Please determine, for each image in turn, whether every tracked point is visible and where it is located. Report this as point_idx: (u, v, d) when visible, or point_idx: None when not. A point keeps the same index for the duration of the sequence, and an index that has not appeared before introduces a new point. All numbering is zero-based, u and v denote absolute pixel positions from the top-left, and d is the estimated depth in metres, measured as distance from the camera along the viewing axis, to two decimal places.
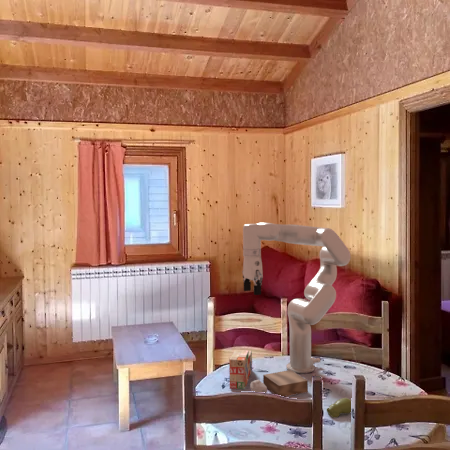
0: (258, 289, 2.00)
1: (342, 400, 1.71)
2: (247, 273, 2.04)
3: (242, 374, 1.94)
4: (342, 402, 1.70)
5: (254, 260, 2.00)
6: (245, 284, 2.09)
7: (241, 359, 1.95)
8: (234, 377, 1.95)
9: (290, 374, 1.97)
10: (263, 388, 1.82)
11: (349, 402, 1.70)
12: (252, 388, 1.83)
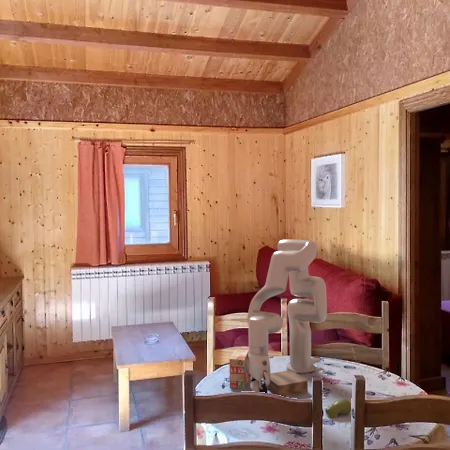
0: None
1: (340, 400, 1.70)
2: (253, 372, 1.83)
3: (242, 374, 1.95)
4: (340, 403, 1.69)
5: (261, 360, 1.79)
6: None
7: (241, 359, 1.95)
8: (234, 377, 1.95)
9: (290, 375, 1.97)
10: None
11: (347, 402, 1.69)
12: (252, 388, 1.83)
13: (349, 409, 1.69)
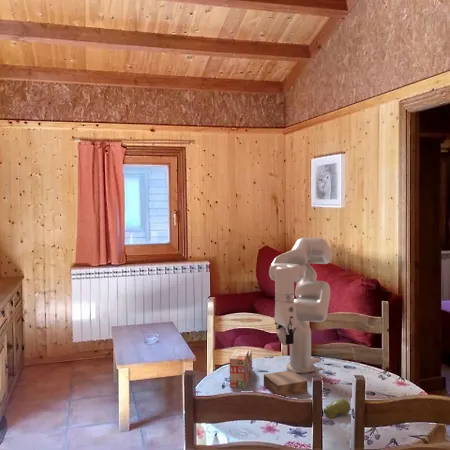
0: (290, 338, 1.89)
1: (339, 401, 1.70)
2: (279, 319, 1.92)
3: (242, 373, 1.95)
4: (339, 403, 1.69)
5: (288, 306, 1.88)
6: None
7: (241, 358, 1.96)
8: (235, 376, 1.96)
9: (290, 375, 1.96)
10: None
11: (346, 403, 1.69)
12: (279, 334, 1.92)
13: (347, 409, 1.69)
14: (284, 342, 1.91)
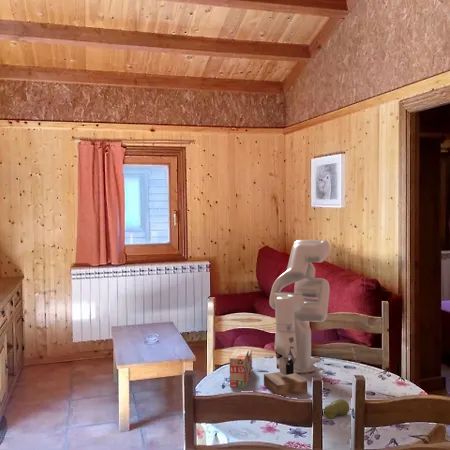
0: (291, 368, 1.89)
1: (338, 401, 1.70)
2: (280, 349, 1.92)
3: (242, 373, 1.95)
4: (338, 403, 1.69)
5: (288, 336, 1.88)
6: None
7: (241, 358, 1.96)
8: (235, 376, 1.96)
9: (290, 375, 1.96)
10: None
11: (345, 403, 1.69)
12: (279, 364, 1.92)
13: (346, 410, 1.68)
14: (284, 372, 1.91)
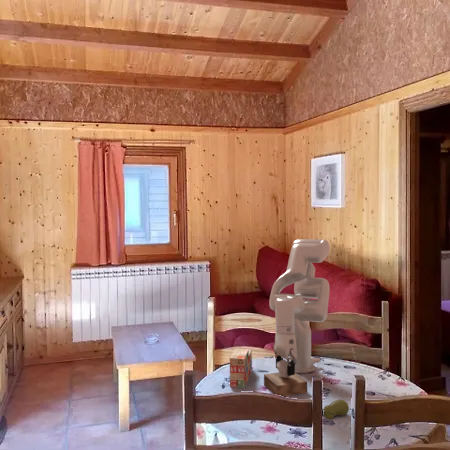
0: (292, 369, 1.89)
1: (337, 401, 1.69)
2: (280, 351, 1.92)
3: (242, 373, 1.96)
4: (337, 404, 1.68)
5: (288, 338, 1.88)
6: (277, 361, 1.97)
7: (241, 358, 1.96)
8: (235, 376, 1.96)
9: None
10: None
11: (344, 404, 1.69)
12: (279, 367, 1.93)
13: (346, 410, 1.68)
14: (284, 375, 1.92)
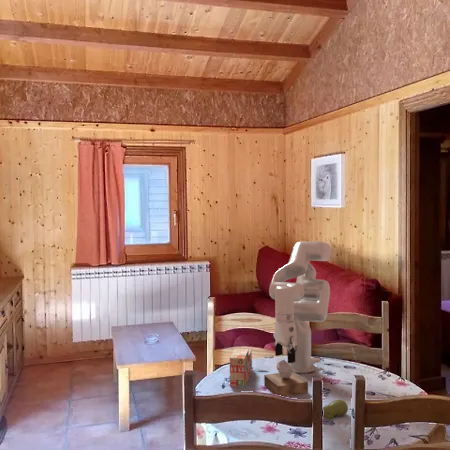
0: (292, 357, 1.88)
1: (336, 402, 1.69)
2: (280, 339, 1.92)
3: (242, 372, 1.96)
4: (336, 404, 1.68)
5: (288, 326, 1.88)
6: (277, 348, 1.97)
7: (241, 357, 1.97)
8: (235, 375, 1.97)
9: (291, 375, 1.96)
10: (289, 368, 1.91)
11: (343, 404, 1.68)
12: (278, 368, 1.92)
13: (345, 410, 1.68)
14: (284, 376, 1.91)
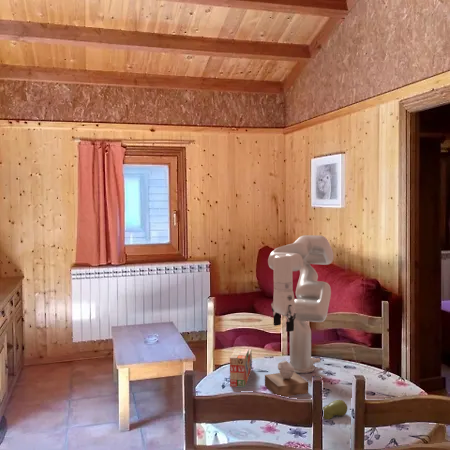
0: (291, 325, 1.88)
1: (336, 402, 1.69)
2: (278, 308, 1.92)
3: (242, 372, 1.96)
4: (335, 404, 1.68)
5: (286, 295, 1.88)
6: (275, 318, 1.97)
7: (241, 357, 1.97)
8: (235, 375, 1.97)
9: None
10: (290, 368, 1.90)
11: (343, 404, 1.68)
12: (280, 368, 1.92)
13: (344, 411, 1.68)
14: (285, 376, 1.91)
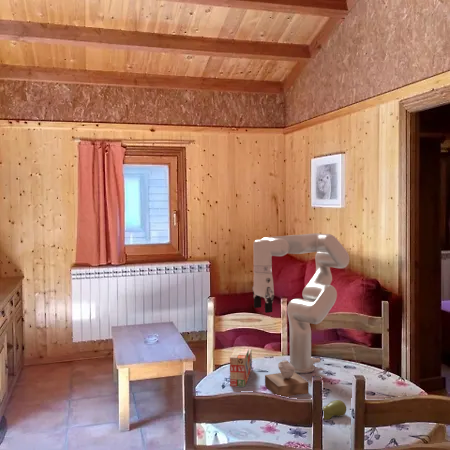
0: (269, 307, 1.96)
1: (335, 402, 1.69)
2: (257, 290, 2.00)
3: (242, 372, 1.96)
4: (334, 404, 1.68)
5: (265, 277, 1.96)
6: (255, 301, 2.05)
7: (241, 357, 1.97)
8: (235, 375, 1.97)
9: None
10: (291, 367, 1.91)
11: (342, 404, 1.68)
12: (280, 367, 1.92)
13: (343, 411, 1.67)
14: (286, 375, 1.91)
